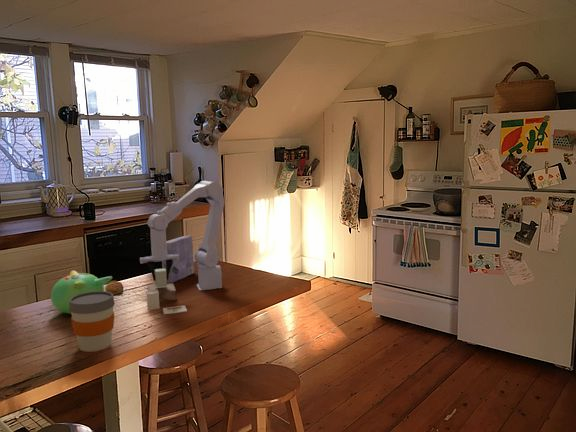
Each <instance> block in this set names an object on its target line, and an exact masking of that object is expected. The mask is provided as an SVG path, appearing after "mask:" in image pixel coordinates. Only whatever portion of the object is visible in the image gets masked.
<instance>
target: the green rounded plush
mask: <svg viewBox="0 0 576 432" xmlns="http://www.w3.org/2000/svg"><path fill="white" fill-rule="evenodd" d="M112 279H113V276H112V275H110V276H105V277H100V278H98V277H97V276H95V275H94V274H91V273H88V272H87V273H86V272H78V271H76V270H71V271H70V272H69V274H68V275H66V276H64V277H62V278H60V279H59V280H58V281H57V282H56V283H55V284H54V286H53V287H52V290H51V293H50V299H51V303H52V305H53V307H55V309H56V310H58V311H59V312H61V313H64V314H70V315H72V314H71V312H70V311H69V301H70V299H71V298H72V297H73V296H76V295H78V294H82V293H87V292H94V291H105V288H104V286H106V285H107V284H108V283H109V282H111V281H112Z"/></svg>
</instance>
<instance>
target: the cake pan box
mask: <svg viewBox="0 0 576 432" xmlns="http://www.w3.org/2000/svg"><path fill="white" fill-rule="evenodd" d="M193 243H194V242H193V236H192V235H182V236H180V237H176V238H173V239H170V240H166V245H167V255H174V254H178V255H179V260H173V264H172V267H171V269H170V272H169V278H168V279H167V284H171V283H173V284H174V283H175V282H177V281H179V280H183V279H185V278H187V277H189V276H190V275H192V274H195V263H194V261H195V259H194V252H193V251H194V246H193ZM161 267H162V268H161V269H164V268H165V269H166V263H165V261H161Z"/></svg>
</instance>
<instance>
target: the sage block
mask: <svg viewBox="0 0 576 432" xmlns="http://www.w3.org/2000/svg"><path fill="white" fill-rule="evenodd" d="M154 270H155V280H156V281H154V282H155V284H154V285H156V287H162V286H167V284H168V283H167V277H166V269H165V268H164V269H163V268H156V269H155V268H154Z"/></svg>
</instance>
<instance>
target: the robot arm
mask: <svg viewBox="0 0 576 432" xmlns="http://www.w3.org/2000/svg"><path fill="white" fill-rule="evenodd" d="M223 192H224V188H223V186H222V185H221V184H220V183H219V182H218V181H210V180H205V179H204V180H201V181H200V182H198V183H197V184H195V185H194V186H193V188H191V189H190V190H189V191H188V192H187V193H185V194H184V195H183V196H182V197H181V198H179V199H178V200H177V201H171V202H170V201H169V202H167V203H166V205H165V206H164V207H163V208H162V209H161V210H159V209H158V210H157V211H156V213H153V214H151V215H150V216H149V217H148V219H147V220H148V221H146V223H147V224H146V225H147V227H149V229H150V232H149V233H150V247H151V248H150V249H151V255H150V256H144V257H139V263H140V264H146V265H147V267H148V268H149V271H150V272H151V275H152V279H153V282H155V281H156V280H155V263H157V262H162V261H165V263H166V277H167V279H168V278H169V272H170V269H171V267H172V264H173V260H179V255H178V254H174V255H167V245H166V241H167V233H166V232H167V230H166V229H167V228H168V225H169V223H170V222H172V221H174V220H175V218H177V217H178V216H179V215H181V214H182V212H183V209H184V208H185V207H186V206H188V205H189V204H191V203H193V202H194V201H196V200H197V199H198V198H205V199H206V201H207V202H208V203H209V205H210V207H209V210H208V211H209V212H208V215H207V220H206V225H205V229H204V233H203V239H202V242H201V243H200V244H199V245H198V248H197V250H196V251H195V253H194V261H195V262H197V275H198V276H197V277H198V283H197V284H196V287H197V289H198V291H206V290H207V291H208V290H216V289H217V288H218V289H223V283H222V282H223V279H222V268H221V265H220V264H219V265H217V264H218V262H219V256H218V255H219V254H218V252H219V249H218V247H217V240H218V235H219V231H220V227H221V222H222V217H223V211H224V207H225V198H224V194H223ZM218 289H217V290H218Z"/></svg>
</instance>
